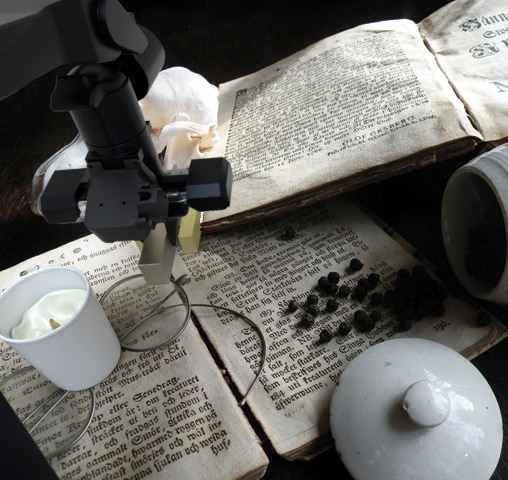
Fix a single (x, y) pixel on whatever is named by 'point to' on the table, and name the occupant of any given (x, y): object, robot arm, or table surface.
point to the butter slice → (190, 232)
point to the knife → (157, 256)
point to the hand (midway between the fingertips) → (163, 244)
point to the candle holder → (59, 327)
